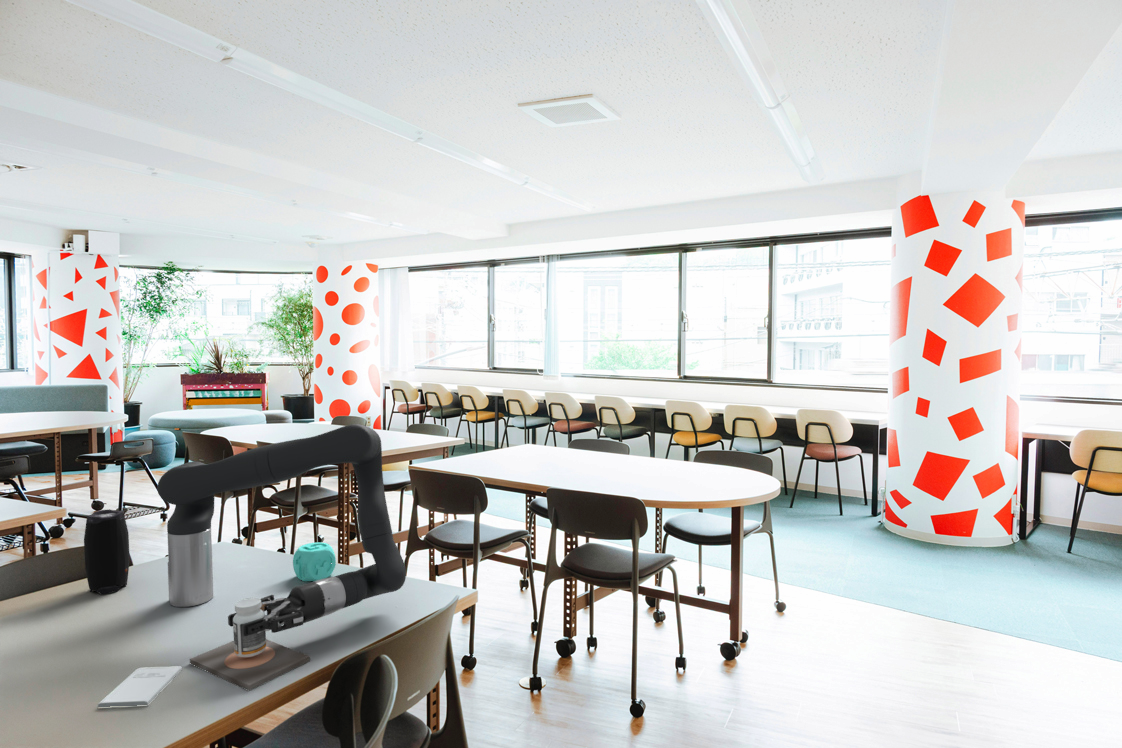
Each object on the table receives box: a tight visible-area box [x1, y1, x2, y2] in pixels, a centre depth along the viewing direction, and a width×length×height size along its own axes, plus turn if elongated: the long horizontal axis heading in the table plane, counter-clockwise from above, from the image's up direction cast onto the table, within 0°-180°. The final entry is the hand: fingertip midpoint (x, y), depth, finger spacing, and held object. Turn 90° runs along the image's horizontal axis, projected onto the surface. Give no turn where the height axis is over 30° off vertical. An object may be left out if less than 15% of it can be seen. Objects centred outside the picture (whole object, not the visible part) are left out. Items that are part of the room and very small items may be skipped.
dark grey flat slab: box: [189, 638, 311, 691], centre depth 131 cm, size 19×13×1 cm
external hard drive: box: [97, 665, 183, 708], centre depth 121 cm, size 2×8×12 cm
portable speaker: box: [83, 509, 131, 596], centre depth 168 cm, size 9×9×20 cm
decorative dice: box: [292, 541, 337, 582], centre depth 177 cm, size 8×8×8 cm
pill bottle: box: [232, 597, 267, 657], centre depth 130 cm, size 6×6×10 cm
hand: (236, 625), depth 129 cm, fingers closed on pill bottle, 5 cm apart
